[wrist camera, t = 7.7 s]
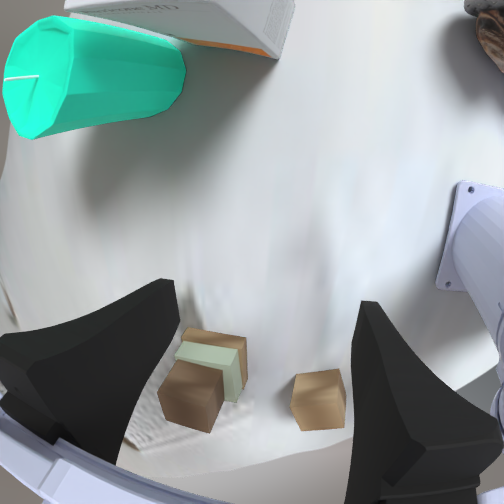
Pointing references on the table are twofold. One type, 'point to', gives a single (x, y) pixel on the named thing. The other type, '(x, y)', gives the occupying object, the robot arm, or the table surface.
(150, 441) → the table surface
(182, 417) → the walnut cube
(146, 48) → the candle
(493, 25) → the bison figurine
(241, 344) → the slab bottom
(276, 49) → the skincare box
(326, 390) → the oak cube
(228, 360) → the slab top
